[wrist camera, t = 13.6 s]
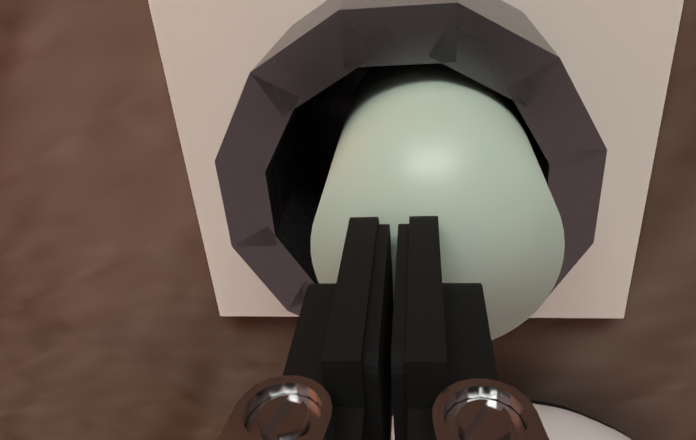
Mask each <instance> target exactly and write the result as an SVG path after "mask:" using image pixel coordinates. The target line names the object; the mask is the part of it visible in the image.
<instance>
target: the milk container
mask: <svg viewBox="0 0 696 440" xmlns="http://www.w3.org/2000/svg"><path fill="white" fill-rule="evenodd" d="M530 401H531V402H532V404H533V406H534V407H535V409H536V410H537V412H538V414H539V417H540V419H541V421H542V424H543V426H544V428H545V431H546V433H547V435H548V438H549V440H631V439H630V438H629V437H628V436H626V435H625V434H624V433H622V432H620V431H619V430H617V429H615V428H613V427H611V426H609V425H607V424H605V423H603V422H601V421H598V420H596V419H594V418H592V417H589V416H587V415H585V414H582V413H580V412H578V411H575V410H572V409H569V408H566V407H564V406H559V405H555V404H550V403H545V402H539V401H532V400H530ZM391 440H395V435H394V417H393V413H392V430H391Z"/></svg>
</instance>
